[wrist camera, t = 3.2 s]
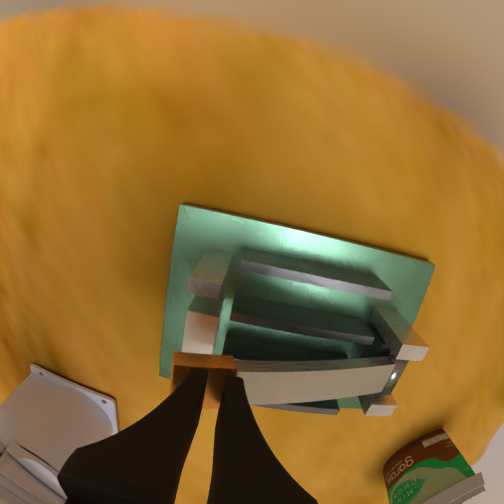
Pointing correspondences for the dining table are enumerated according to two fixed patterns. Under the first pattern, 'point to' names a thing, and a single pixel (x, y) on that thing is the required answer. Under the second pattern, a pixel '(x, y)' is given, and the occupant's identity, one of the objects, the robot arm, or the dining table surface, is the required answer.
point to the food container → (430, 473)
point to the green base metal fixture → (289, 298)
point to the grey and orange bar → (290, 377)
